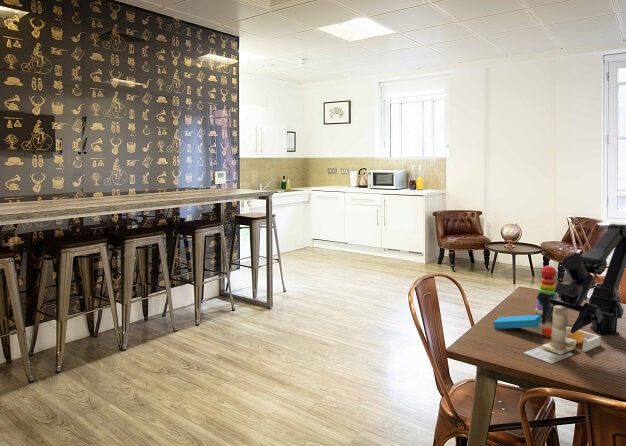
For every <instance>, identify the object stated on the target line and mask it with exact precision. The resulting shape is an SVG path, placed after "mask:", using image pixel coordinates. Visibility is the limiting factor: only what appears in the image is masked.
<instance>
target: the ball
mask: <svg viewBox="0 0 626 446" xmlns="http://www.w3.org/2000/svg"><path fill="white" fill-rule="evenodd" d="M579 330H580V329H579ZM579 330H578V331H576V332H575V333H573V334H572V333H571V332H570V333H569V336H568V338H570V339H573V340H576V345H577V344H581V343H583V339H584V335H583V333H582V332H581V331H582V330H581V331H579Z"/></svg>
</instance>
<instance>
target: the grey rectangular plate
mask: <svg viewBox="0 0 626 446" xmlns="http://www.w3.org/2000/svg"><path fill="white" fill-rule="evenodd" d="M523 354H524V355H526V356H530V357H532V358H534V359H537V360H540V361H542V362H545V363H548V364H551V365H552V364H555V363H557V362H560V361H562V360H564V359H566V358H569V357H571V356H573V355H574V353H573V352H570V351H568V352H566V353H563V354H558V353H555V352H552V351H549V350H547V349H544V348H542V345H540V346H537V347H534V348H532V349H530V350H526V351H524V352H523Z"/></svg>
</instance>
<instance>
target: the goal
mask: <svg viewBox="0 0 626 446" xmlns="http://www.w3.org/2000/svg"><path fill="white" fill-rule="evenodd" d="M571 329H572V326H567V327H566V337H567V338H569V333H570V331H571ZM579 331H581V332H582V333H583V335H584V339H583V341H582V352H588V351H590V350H592V349H594V348H598V347H600V345H601V341H602V340H601V337H602V336H601V335H597V334H594V333H591V332H587V331H584V330H581V329H579Z"/></svg>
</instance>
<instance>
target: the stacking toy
mask: <svg viewBox="0 0 626 446" xmlns="http://www.w3.org/2000/svg"><path fill="white" fill-rule="evenodd" d="M556 271H557V270H556V268H555V267H554V266H552V265H545V266H543V267H542V268H541V271H540V272H541V276H542V278H541V279H540V281H541V283H540V284H539V289H538V293H540V292H546V293H550V294H552V295H553V297H554V298H555V299H557V300H558V295H557V293H555V292H554V290H555V287H556V283H557V282H556V279H555V276H556V273H557V272H556ZM536 299H537V298H536ZM536 301H537V303H535V305H536V307H535V313H536V314H537V315H541V316H542V315H543V306H542V305H541V303H540V302H539V300H538V299H537V300H536ZM550 317H553V313H552V315H551V316H550Z"/></svg>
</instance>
